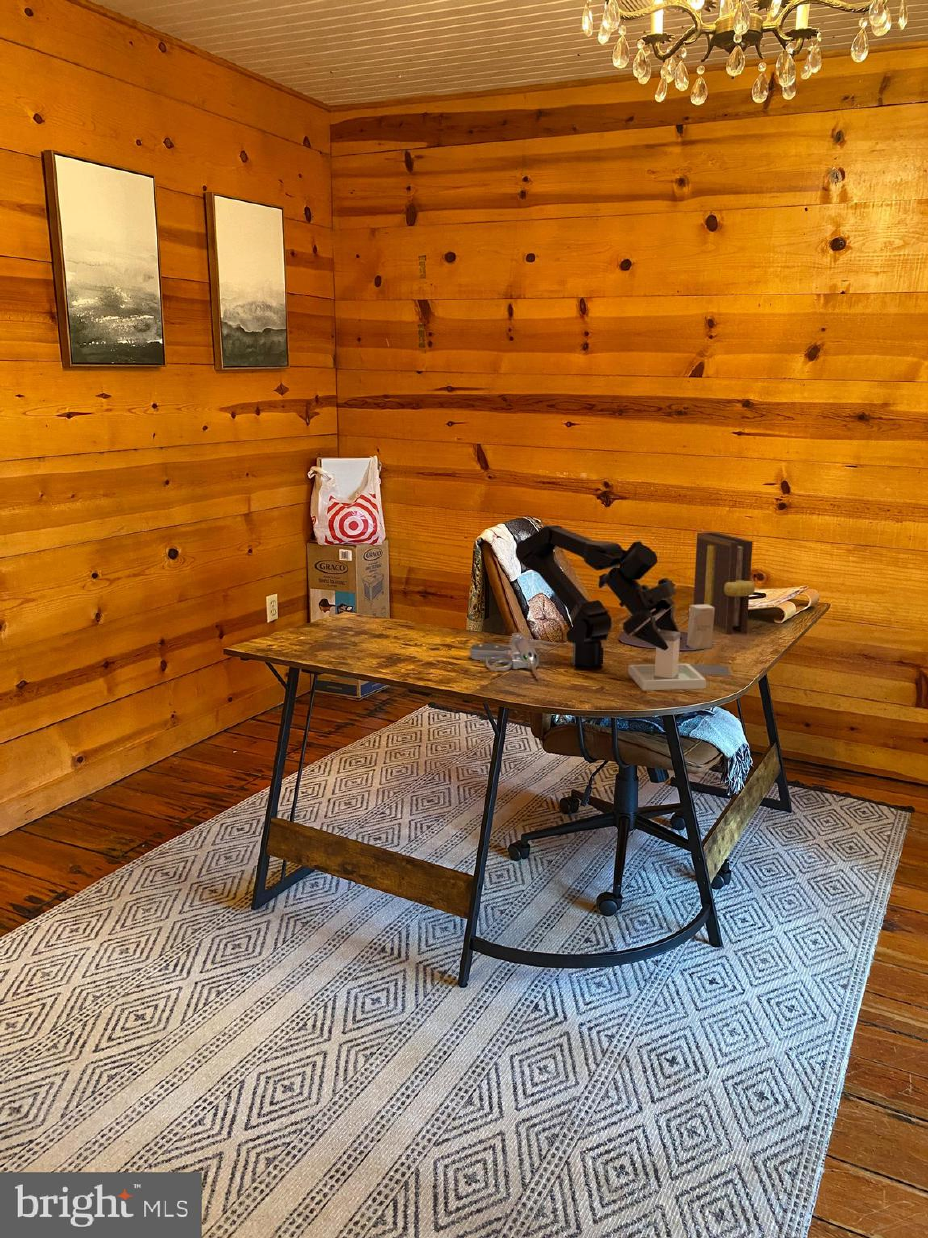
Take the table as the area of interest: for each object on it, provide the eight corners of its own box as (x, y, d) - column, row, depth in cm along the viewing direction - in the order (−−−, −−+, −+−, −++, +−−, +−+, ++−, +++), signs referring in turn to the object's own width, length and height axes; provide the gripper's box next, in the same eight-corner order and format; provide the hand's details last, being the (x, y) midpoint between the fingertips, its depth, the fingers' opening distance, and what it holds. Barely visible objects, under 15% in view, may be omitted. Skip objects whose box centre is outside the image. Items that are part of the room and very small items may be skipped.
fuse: (653, 681, 215) (655, 633, 212) (660, 677, 218) (662, 630, 216) (672, 684, 213) (674, 636, 210) (678, 679, 216) (680, 632, 214)
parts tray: (642, 692, 209) (643, 681, 208) (628, 675, 222) (628, 664, 221) (705, 690, 210) (706, 679, 209) (687, 673, 223) (688, 663, 222)
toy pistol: (468, 655, 244) (530, 647, 245) (481, 697, 217) (550, 689, 218) (466, 633, 242) (528, 626, 243) (478, 673, 215) (549, 665, 216)
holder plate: (685, 675, 222) (685, 673, 221) (684, 666, 229) (684, 663, 229) (730, 677, 220) (730, 675, 220) (727, 668, 227) (727, 666, 227)
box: (693, 651, 243) (695, 608, 240) (686, 646, 247) (688, 604, 244) (712, 649, 244) (715, 607, 241) (705, 645, 248) (707, 603, 245)
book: (686, 619, 277) (690, 533, 271) (712, 617, 279) (717, 531, 273) (729, 637, 256) (734, 544, 250) (756, 635, 259) (763, 542, 253)
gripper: (638, 574, 204) (686, 631, 201) (668, 561, 220) (713, 614, 217) (603, 606, 210) (649, 662, 207) (634, 592, 225) (677, 643, 222)
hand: (673, 644), depth 213 cm, fingers open, 9 cm apart
